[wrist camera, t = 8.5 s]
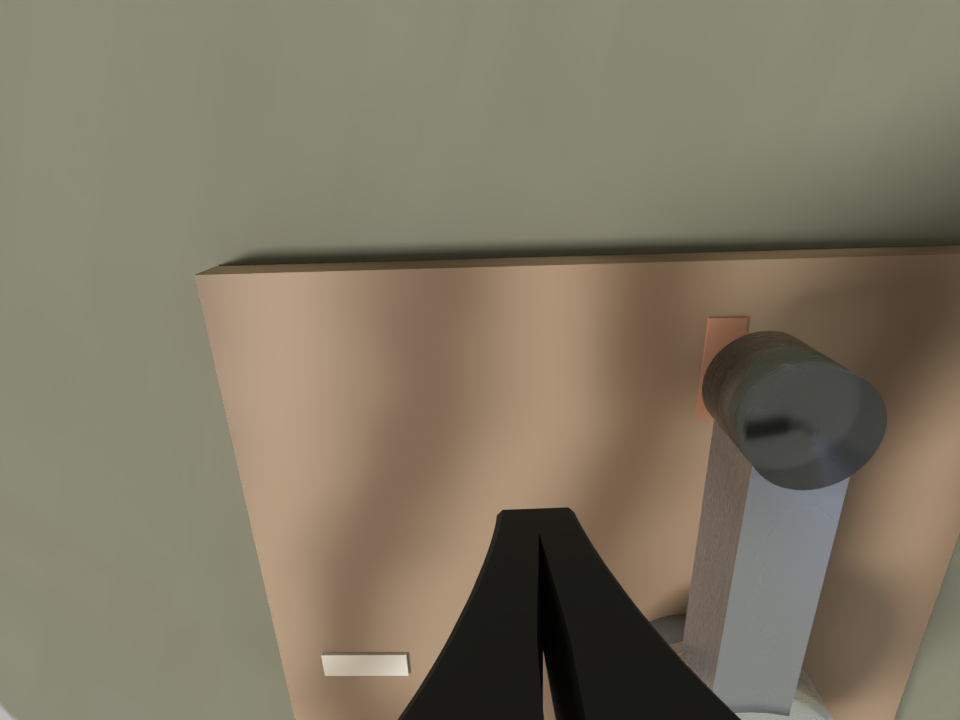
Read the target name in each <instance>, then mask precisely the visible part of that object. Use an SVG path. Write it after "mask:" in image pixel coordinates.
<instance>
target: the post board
mask: <svg viewBox="0 0 960 720" xmlns="http://www.w3.org/2000/svg"><path fill="white" fill-rule="evenodd" d="M195 280H196V284H197V289H198V293H199V297H200V302H201V306H202V311H203V315H204V320H205V324H206V328H207V333H208V337H209V342H210V346H211V350H212V355H213V359H214V364H215V368H216V373H217V377H218V381H219V386H220V390H221V395H222V399H223V404H224V408H225V412H226V417H227V421H228V426H229V430H230V434H231V439H232V443H233V448H234V452H235V457H236V461H237V465H238V470H239V474H240V479H241V483H242V488H243V492H244V496H245V501H246V505H247V510H248V514H249V518H250V523H251V527H252V532H253V536H254V541H255V545H256V549H257V554H258V558H259V563H260V567H261V572H262V576H263V580H264V585H265V589H266V594H267V598H268V602H269V607H270V611H271V616H272V620H273V625H274V629H275V633H276V638H277V642H278V647H279V651H280V656H281V660H282V664H283V669H284V673H285V678H286V682H287V686H288V691H289V695H290V700H291V704H292V709H293V713H294V717H295V720H398V718H399V717H400V715H401V714H402V712H403V711H404V710H405V708H406V707H407V705H408V704H409V702H410V701H411V699H412V698H413V696H414V695H415V693H416V692H417V690H418V689H419V687H420V685H421V684H422V682H423V681H424V679H425V677H426V676H427V674H428V672H429V671H430V669H431V668H432V666H433V664H434V663H435V661H436V659H437V657H438V656H439V654H440V652H441V650H442V649H443V647H444V645H445V643H446V642H447V640H448V638H449V636H450V634H451V632H452V630H453V628H454V626H455V624H456V622H457V620H458V618H459V616H460V614H461V612H462V610H463V608H464V606H465V604H466V602H467V600H468V598H469V596H470V594H471V592H472V589H473V587H474V584H475V582H476V580H477V577H478V575H479V572H480V570H481V568H482V565H483V563H484V560H485V557H486V554H487V552H488V549H489V546H490V543H491V540H492V536H493V533H494V528H495V524H496V517H497V515H498V514H499V513H500V512H501V511H502V510H510V509H536V508H561V507H569V508H570V509H571V510H572V511H573V512H575V515H576V517H577V519H578V521H579V522H580V524H581V526H582V528H583V530H584V531H585V533H586V535H587V536H588V538H589V540H590V541H591V543H592V544H593V546H594V548H595V549H596V551H597V552H598V554H599V555H600V557H601V558H602V560H603V561H604V563H605V564H606V566H607V567H608V568H609V570H610V571H611V573H612V574H613V575H614V577H615V578H616V579H617V581H618V582H619V584H620V585H621V586H622V588H623V589H624V590H625V592H626V593H627V594H628V596H629V597H630V598H631V600H632V601H633V602H634V604H635V605H636V606H637V607H638V609H639V610H640V611H641V612H642V614H643V615H644V616H645V617H646V618H647V620H648V621H649V622H650V623H651V624H652V626H653V627H654V628H655V629H656V631H657V632H658V633H659V634H660V635H661V636H662V638H663V639H664V640H665V641H666V642H667V643H668V644H673V643H677V642H682V641H683V636H684V629H685V622H686V615H687V608H688V601H689V594H690V586H691V579H692V572H693V565H694V558H695V551H696V544H697V537H698V530H699V523H700V516H701V508H702V501H703V494H704V487H705V480H706V473H707V466H708V459H709V452H710V445H711V438H712V431H713V423H714V419H713V418H712V417H711V415H710V414H709V413H708V411H707V409H706V407H705V405H704V402H703V398H702V383H703V378H704V375H705V372H706V370H707V368H708V366H709V364H710V363H711V361H712V360H713V358H714V357H715V356H716V355H717V354H718V352H719V351H721V350H722V349H723V348H724V347H725V346H726V345H728V344H729V343H730V342H732V341H734V340H736V339H737V338H739V337H742V336H744V335H747V334H750V333H754V332H759V331H778V332H783V333H786V334H789V335H792V336H794V337H796V338H797V339H799V340H801V341H802V342H804V343H806V344H807V345H809V346H810V347H812V348H814V349H815V350H817V351H819V352H820V353H822V354H824V355H825V356H827V357H829V358H830V359H832V360H834V361H835V362H837V363H838V364H840V365H842V366H843V367H845V368H847V369H848V370H850V371H852V372H853V373H855V374H857V375H858V376H860V377H862V378H863V379H865V380H866V381H868V382H869V383H871V384H872V385H873V386H874V387H875V388H876V389H877V391H878V392H879V393H880V395H881V397H882V399H883V401H884V403H885V407H886V412H887V426H886V431H885V434H884V437H883V440H882V442H881V444H880V446H879V448H878V449H877V451H876V452H875V454H874V455H873V456H872V458H871V459H870V460H869V461H868V462H867V463H866V464H865V465H864V466H863V467H862V468H861V469H860V470H858V471H857V472H856V473H854V474H853V475H851V476H850V479H849V483H848V486H847V490H846V494H845V498H844V502H843V506H842V510H841V514H840V518H839V522H838V526H837V530H836V534H835V538H834V542H833V545H832V549H831V553H830V557H829V561H828V565H827V569H826V573H825V577H824V581H823V585H822V589H821V593H820V597H819V600H818V604H817V608H816V612H815V616H814V620H813V624H812V628H811V632H810V636H809V640H808V644H807V648H806V652H805V656H804V659H803V663H802V667H801V669H802V670H803V671H804V672H805V674H806V675H807V677H808V678H809V679H810V681H811V683H812V684H813V686H814V688H815V689H816V691H817V692H818V694H819V696H820V697H821V699H822V701H823V702H824V704H825V706H826V707H827V709H828V711H829V712H830V714H831V716H832V717H833V719H834V720H894V717H895V715H896V712H897V709H898V706H899V703H900V700H901V698H902V695H903V692H904V689H905V686H906V684H907V681H908V678H909V675H910V672H911V670H912V667H913V664H914V661H915V658H916V656H917V653H918V650H919V647H920V644H921V641H922V639H923V636H924V633H925V630H926V627H927V625H928V622H929V619H930V616H931V613H932V611H933V608H934V605H935V602H936V599H937V596H938V594H939V591H940V588H941V585H942V582H943V580H944V577H945V574H946V571H947V568H948V566H949V563H950V560H951V557H952V554H953V551H954V549H955V546H956V543H957V540H958V537H959V535H960V245H952V246H917V247H881V248H845V249H810V250H774V251H739V252H703V253H667V254H632V255H596V256H561V257H525V258H489V259H454V260H418V261H382V262H347V263H311V264H276V265H240V266H216V267H213V268H211V269H208V270H206V271H203V272H201V273H198V274H196V275H195ZM543 713H544V720H556V719H555V714H554V708H553V703H552V697H551V692H550V686H549V680H548V675H547V669H546V664H545V658H544V652H543Z"/></svg>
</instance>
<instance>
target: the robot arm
mask: <svg viewBox="0 0 960 720" xmlns="http://www.w3.org/2000/svg"><path fill="white" fill-rule="evenodd" d="M543 652H544V658H545V664H546V669H547V675H548V680H549V686H550V692H551V697H552V703H553V708H554V714H555V719H556V720H741V719H740V718H739V717H738V716H737V715H736V714H735V713H734V712H733V711H732V710H731V709H730V708H729V707H728V706H727V705H726V704H725V703H724V702H723V701H722V700H721V699H720V698H719V697H718V696H717V695H716V694H715V693H714V692H713V691H712V690H711V689H710V688H709V687H708V686H707V685H706V684H705V683H704V682H703V681H702V680H701V679H700V678H699V677H698V676H697V675H696V674H695V673H694V672H693V671H692V670H691V669H690V668H689V667H688V665H687V664H686V663H685V662H684V661H683V660H682V659H681V658H680V657H679V656H678V655H677V653H676V652H675V651H674V650H673V649H672V648H671V647H670V646H669V644H668V643H667V642H666V641H665V640H664V639H663V638H662V636H661V635H660V634H659V633H658V632H657V631H656V629H655V628H654V627H653V626H652V624H651V623H650V622H649V621H648V620H647V618H646V617H645V616H644V615H643V614H642V612H641V611H640V610H639V609H638V607H637V606H636V605H635V604H634V602H633V601H632V600H631V598H630V597H629V596H628V594H627V593H626V592H625V590H624V589H623V588H622V586H621V585H620V584H619V582H618V581H617V579H616V578H615V577H614V575H613V574H612V573H611V571H610V570H609V568H608V567H607V566H606V564H605V563H604V561H603V560H602V558H601V557H600V555H599V554H598V552H597V551H596V549H595V548H594V546H593V544H592V543H591V541H590V540H589V538H588V536H587V535H586V533H585V531H584V530H583V528H582V526H581V524H580V522H579V521H578V519H577V517H576V515H575V512H573V511H572V510H571V509H570V508H569V507H561V508H536V509H510V510H502V511H501V512H500V513H499V514H498V515H497V517H496V524H495V528H494V533H493V536H492V540H491V543H490V546H489V549H488V552H487V554H486V557H485V560H484V563H483V565H482V568H481V570H480V572H479V575H478V577H477V580H476V582H475V584H474V587H473V589H472V592H471V594H470V596H469V598H468V600H467V602H466V604H465V606H464V608H463V610H462V612H461V614H460V616H459V618H458V620H457V622H456V624H455V626H454V628H453V630H452V632H451V634H450V636H449V638H448V640H447V642H446V643H445V645H444V647H443V649H442V650H441V652H440V654H439V656H438V657H437V659H436V661H435V663H434V664H433V666H432V668H431V669H430V671H429V672H428V674H427V676H426V677H425V679H424V681H423V682H422V684H421V685H420V687H419V689H418V690H417V692H416V693H415V695H414V696H413V698H412V699H411V701H410V702H409V704H408V705H407V707H406V708H405V710H404V711H403V712H402V714H401V715H400V717H399V718H398V720H544V713H543Z"/></svg>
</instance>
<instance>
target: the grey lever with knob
mask: <svg viewBox="0 0 960 720" xmlns="http://www.w3.org/2000/svg"><path fill="white" fill-rule="evenodd" d="M702 398H703V402H704V405H705V407H706V409H707V411H708V413H709V414H710V415H711V417H712V418H713V419H714V423H713V431H712V438H711V445H710V452H709V459H708V466H707V473H706V480H705V487H704V494H703V501H702V508H701V516H700V523H699V530H698V537H697V544H696V551H695V558H694V565H693V572H692V579H691V586H690V594H689V601H688V608H687V615H686V622H685V629H684V636H683V641H682V642H677V643H673V644H669V646H670V647H671V648H672V649H673V650H674V651H675V652H676V653H677V655H678V656H679V657H680V658H681V659H682V660H683V661H684V662H685V663H686V664H687V665H688V667H689V668H690V669H691V670H692V671H693V672H694V673H695V674H696V675H697V676H698V677H699V678H700V679H701V680H702V681H703V682H704V683H705V684H706V685H707V686H708V687H709V688H710V689H711V690H712V691H713V692H714V693H715V694H716V695H717V696H718V697H719V698H720V699H721V700H722V701H723V702H724V703H725V704H726V705H727V706H728V707H729V708H730V709H731V710H732V711H733V712H734V713H735V714H736V715H737V716H738V717H739V718H740V719H741V720H834V719H833V717H832V716H831V714H830V712H829V711H828V709H827V707H826V706H825V704H824V702H823V701H822V699H821V697H820V696H819V694H818V692H817V691H816V689H815V688H814V686H813V684H812V683H811V681H810V679H809V678H808V677H807V675H806V674H805V672H804V671H803V670H802V669H801V667H802V663H803V659H804V656H805V652H806V648H807V644H808V640H809V636H810V632H811V628H812V624H813V620H814V616H815V612H816V608H817V604H818V600H819V597H820V593H821V589H822V585H823V581H824V577H825V573H826V569H827V565H828V561H829V557H830V553H831V549H832V545H833V542H834V538H835V534H836V530H837V526H838V522H839V518H840V514H841V510H842V506H843V502H844V498H845V494H846V490H847V486H848V483H849V479H850V476H851V475H853V474H854V473H856V472H857V471H858V470H860V469H861V468H862V467H863V466H864V465H865V464H866V463H867V462H868V461H869V460H870V459H871V458H872V456H873V455H874V454H875V452H876V451H877V449H878V448H879V446H880V444H881V442H882V440H883V437H884V434H885V431H886V426H887V412H886V407H885V403H884V401H883V399H882V397H881V395H880V393H879V392H878V391H877V389H876V388H875V387H874V386H873V385H872V384H871V383H869V382H868V381H866V380H865V379H863V378H862V377H860V376H858V375H857V374H855V373H853V372H852V371H850V370H848V369H847V368H845V367H843V366H842V365H840V364H838V363H837V362H835V361H834V360H832V359H830V358H829V357H827V356H825V355H824V354H822V353H820V352H819V351H817V350H815V349H814V348H812V347H810V346H809V345H807V344H806V343H804V342H802V341H801V340H799V339H797V338H796V337H794V336H792V335H789V334H786V333H783V332H778V331H759V332H754V333H750V334H747V335H744V336H742V337H739V338H737V339H736V340H734V341H732V342H730V343H729V344H728V345H726V346H725V347H724V348H723V349H722V350H721V351H719V352H718V354H717V355H716V356H715V357H714V358H713V360H712V361H711V363H710V364H709V366H708V368H707V370H706V372H705V375H704V378H703V383H702Z"/></svg>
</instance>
